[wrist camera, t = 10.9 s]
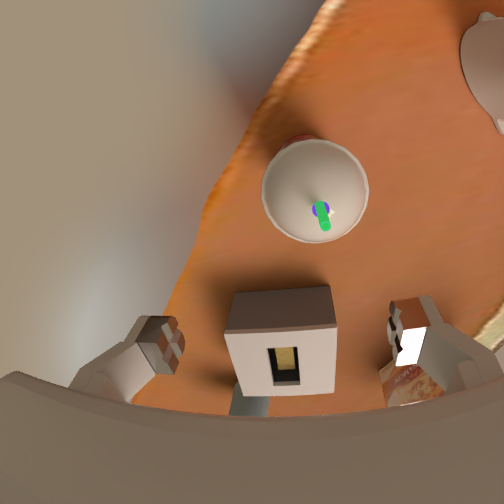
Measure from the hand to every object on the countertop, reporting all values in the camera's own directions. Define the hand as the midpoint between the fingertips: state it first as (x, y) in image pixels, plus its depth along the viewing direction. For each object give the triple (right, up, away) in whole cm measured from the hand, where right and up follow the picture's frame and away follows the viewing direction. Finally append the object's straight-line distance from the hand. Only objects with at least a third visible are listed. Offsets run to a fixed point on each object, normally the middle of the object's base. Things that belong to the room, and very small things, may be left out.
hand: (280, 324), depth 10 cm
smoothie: (+5, +14, +23) cm, 27 cm away
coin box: (+4, -9, +35) cm, 37 cm away
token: (+4, -9, +35) cm, 36 cm away
